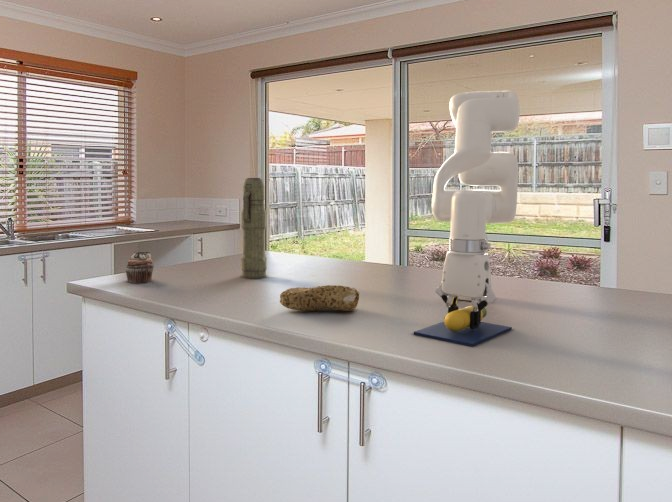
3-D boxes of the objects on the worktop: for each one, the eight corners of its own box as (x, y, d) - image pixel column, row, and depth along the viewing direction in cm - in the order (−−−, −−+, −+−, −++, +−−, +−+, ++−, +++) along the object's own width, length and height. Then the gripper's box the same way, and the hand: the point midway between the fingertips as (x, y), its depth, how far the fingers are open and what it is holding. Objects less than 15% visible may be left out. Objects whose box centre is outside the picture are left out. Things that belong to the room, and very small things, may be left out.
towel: (413, 334, 135) (413, 331, 135) (456, 319, 149) (456, 317, 149) (472, 346, 125) (472, 343, 125) (511, 329, 139) (511, 327, 139)
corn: (472, 319, 144) (472, 301, 144) (489, 322, 141) (490, 304, 141) (440, 330, 133) (440, 311, 133) (458, 334, 130) (459, 314, 130)
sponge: (356, 311, 164) (287, 292, 168) (362, 285, 161) (292, 267, 165) (348, 331, 152) (274, 310, 156) (354, 303, 149) (279, 283, 153)
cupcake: (131, 278, 209) (130, 249, 208) (157, 278, 208) (157, 250, 207) (120, 283, 200) (119, 253, 199) (148, 283, 199) (147, 253, 197)
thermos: (235, 278, 210) (235, 177, 205) (248, 273, 221) (248, 177, 216) (259, 279, 206) (259, 177, 202) (271, 274, 217) (271, 178, 213)
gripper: (511, 248, 131) (506, 329, 133) (441, 242, 143) (438, 317, 145) (496, 251, 126) (492, 335, 128) (425, 245, 138) (422, 322, 140)
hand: (463, 325), depth 137 cm, fingers closed on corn, 4 cm apart
